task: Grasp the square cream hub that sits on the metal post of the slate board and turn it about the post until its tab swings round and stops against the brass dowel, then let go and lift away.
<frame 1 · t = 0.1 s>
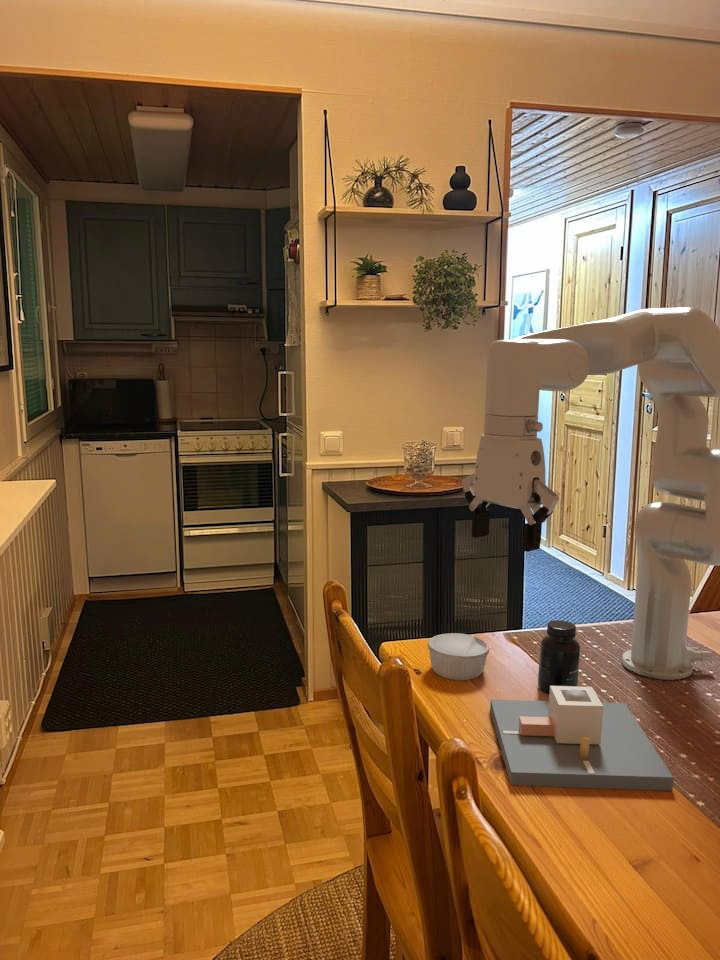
hand: (504, 542, 114), 31 cm above the table, tool pointing down, fingers open, 9 cm apart
board: (572, 746, 117), on the table
hub: (558, 713, 116), point 5 cm above the table, hinge at 0.0°
ramekin: (457, 671, 144), on the table
supplement bottle: (557, 690, 136), on the table
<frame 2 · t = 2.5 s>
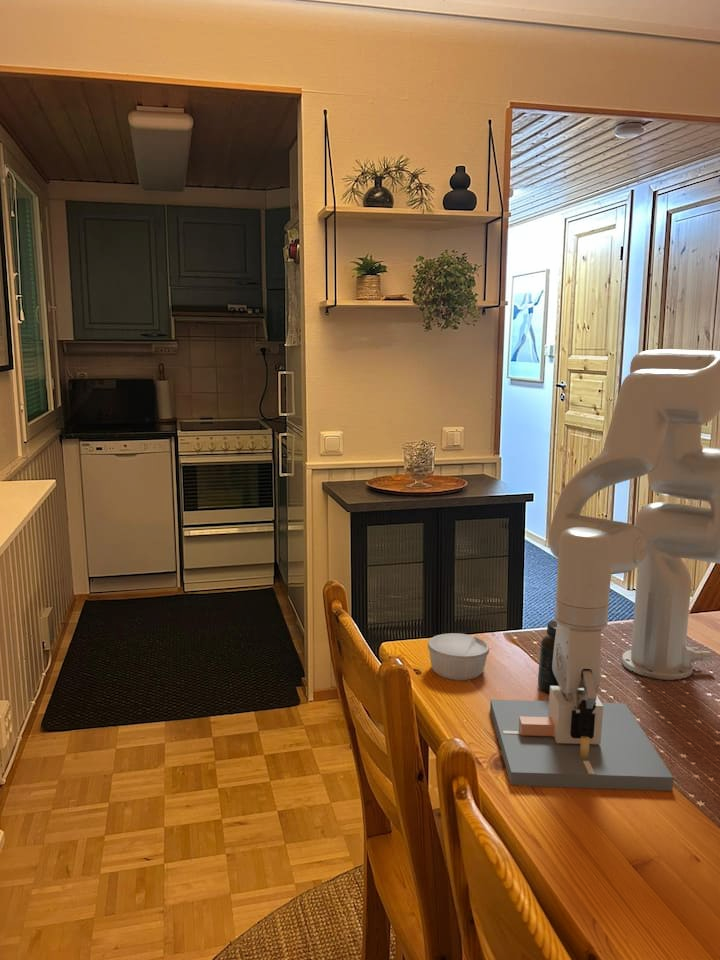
hand: (573, 721, 116), 4 cm above the table, tool pointing down, fingers open, 9 cm apart
nothing on the table moved.
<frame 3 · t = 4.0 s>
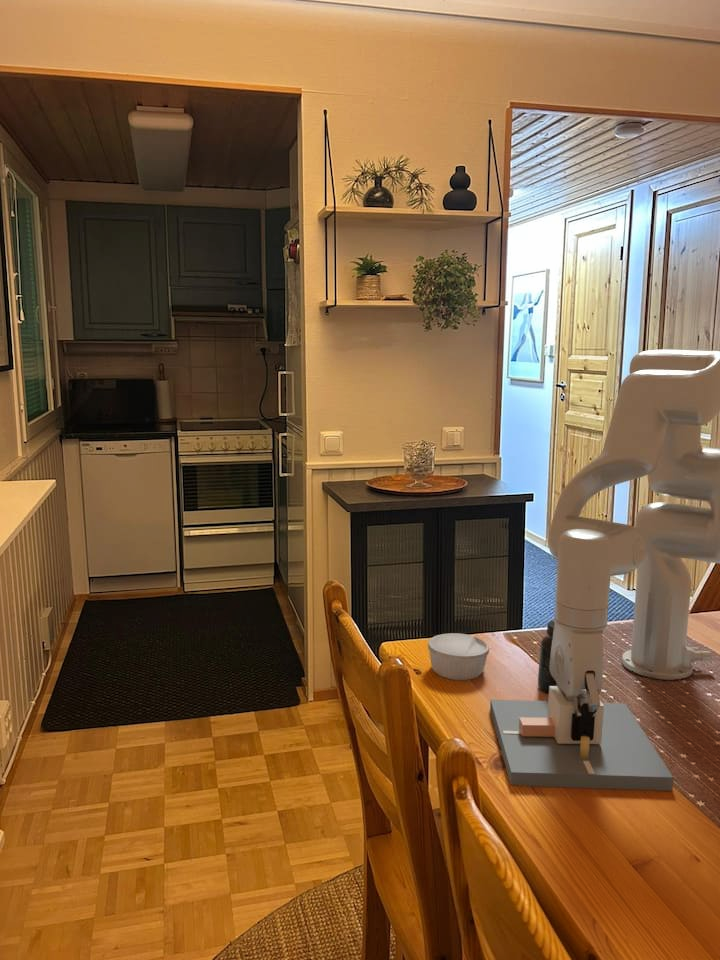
hand: (573, 726, 116), 3 cm above the table, tool pointing down, fingers closed on hub, 6 cm apart
hub: (558, 714, 116), point 5 cm above the table, hinge at 2.4°, touching gripper
everything else where it was.
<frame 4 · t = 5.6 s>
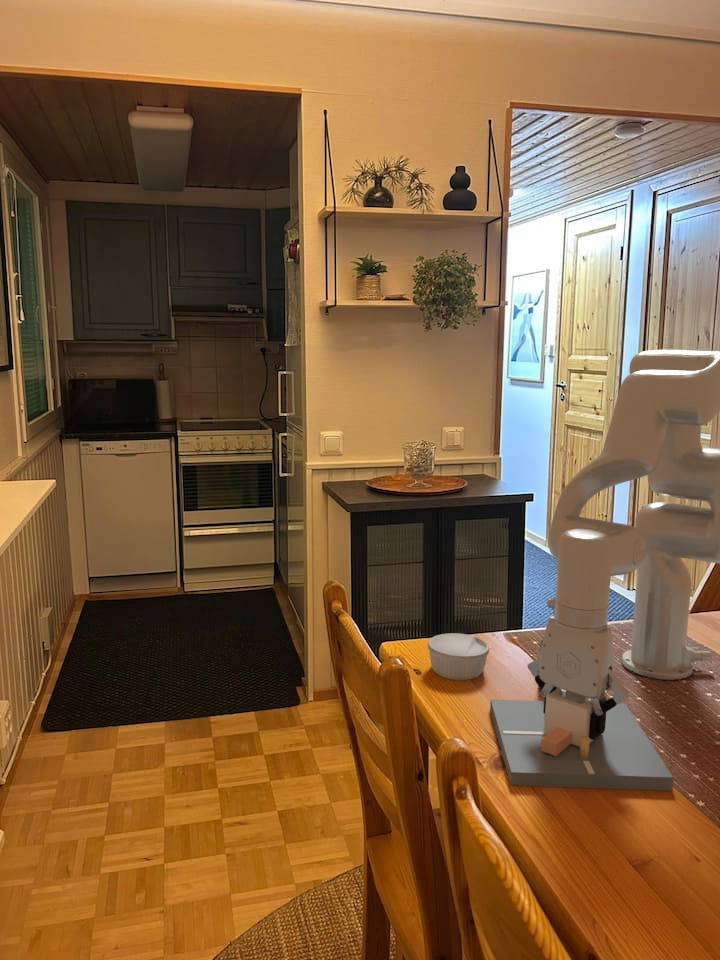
hand: (573, 726, 116), 3 cm above the table, tool pointing down, fingers closed on hub, 6 cm apart
hub: (567, 720, 114), point 5 cm above the table, hinge at 51.2°, touching gripper
everything else where it was.
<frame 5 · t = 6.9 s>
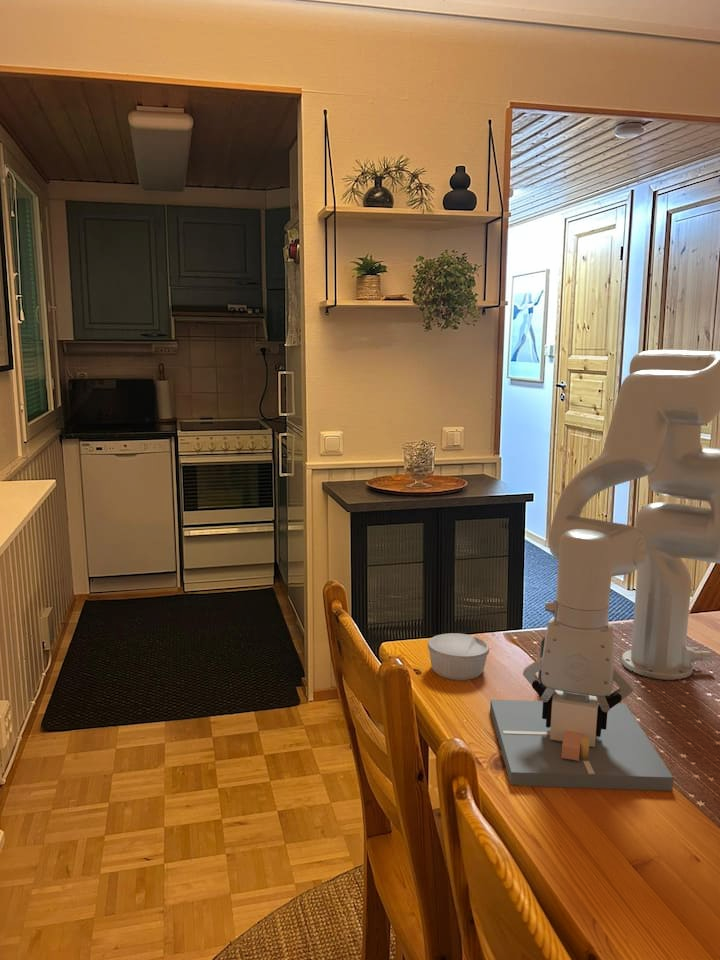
hand: (573, 727, 116), 3 cm above the table, tool pointing down, fingers closed on hub, 6 cm apart
hub: (573, 721, 114), point 5 cm above the table, hinge at 73.6°, touching gripper
everything else where it was.
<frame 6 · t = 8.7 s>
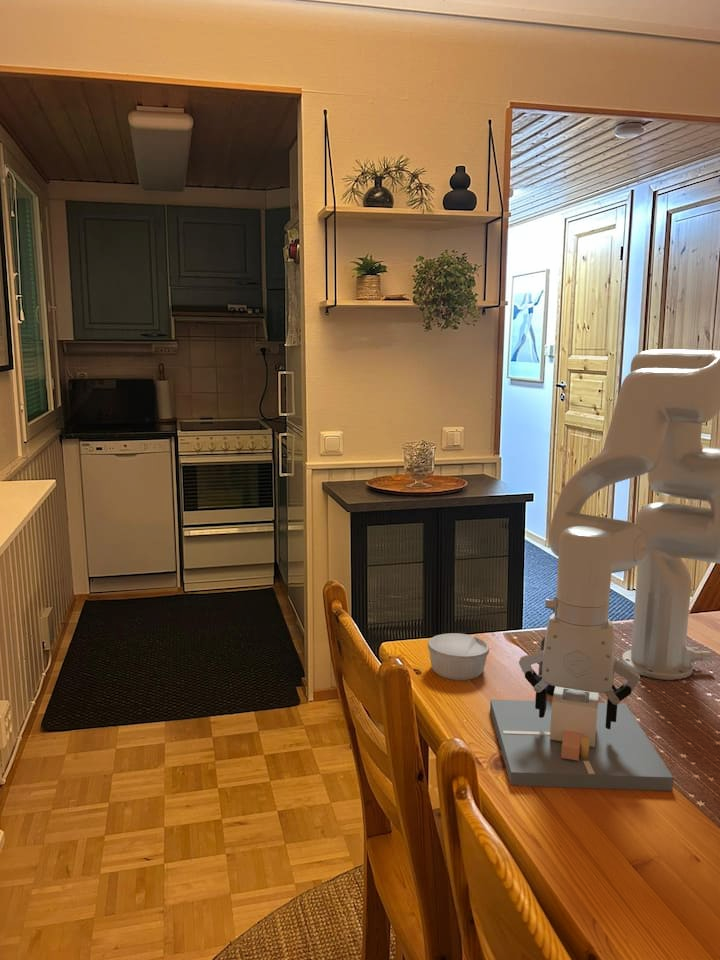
hand: (574, 719, 116), 4 cm above the table, tool pointing down, fingers open, 9 cm apart
hub: (573, 721, 114), point 5 cm above the table, hinge at 73.3°
everything else where it was.
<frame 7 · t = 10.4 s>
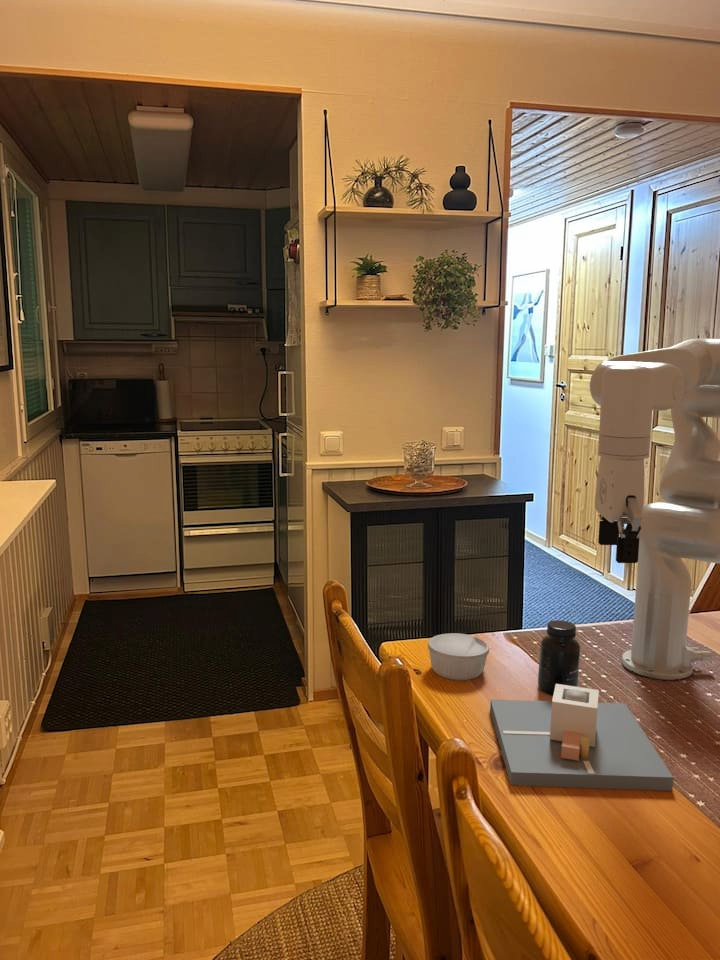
hand: (617, 553, 122), 28 cm above the table, tool pointing down, fingers open, 9 cm apart
nothing on the table moved.
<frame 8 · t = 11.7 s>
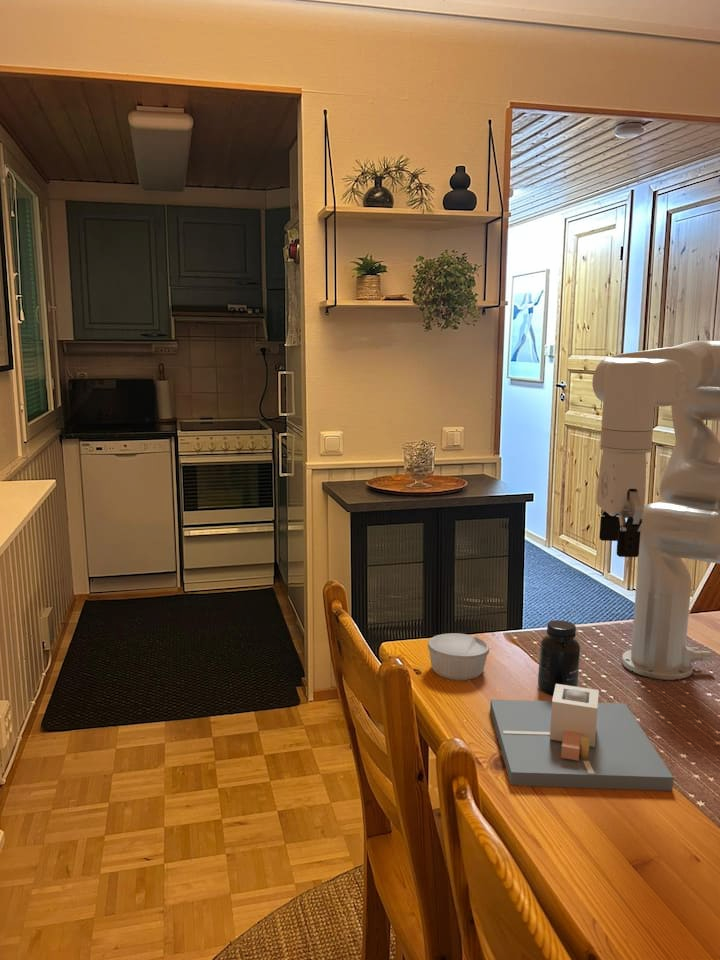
hand: (618, 548, 122), 28 cm above the table, tool pointing down, fingers open, 9 cm apart
nothing on the table moved.
at the end: hub at +73° (first picture: +0°); the gripper is holding nothing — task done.
